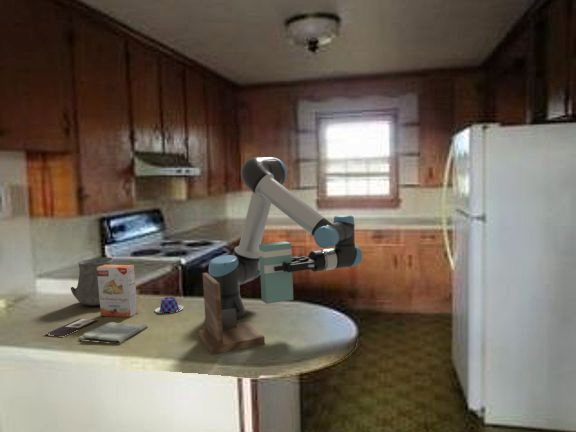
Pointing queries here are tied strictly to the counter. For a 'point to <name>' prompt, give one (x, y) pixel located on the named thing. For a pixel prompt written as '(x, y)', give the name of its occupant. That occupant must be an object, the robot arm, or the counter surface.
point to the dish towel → (113, 332)
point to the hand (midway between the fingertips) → (261, 268)
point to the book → (277, 283)
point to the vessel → (89, 281)
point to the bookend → (229, 318)
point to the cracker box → (117, 290)
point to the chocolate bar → (72, 327)
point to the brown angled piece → (213, 333)
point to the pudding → (168, 305)
